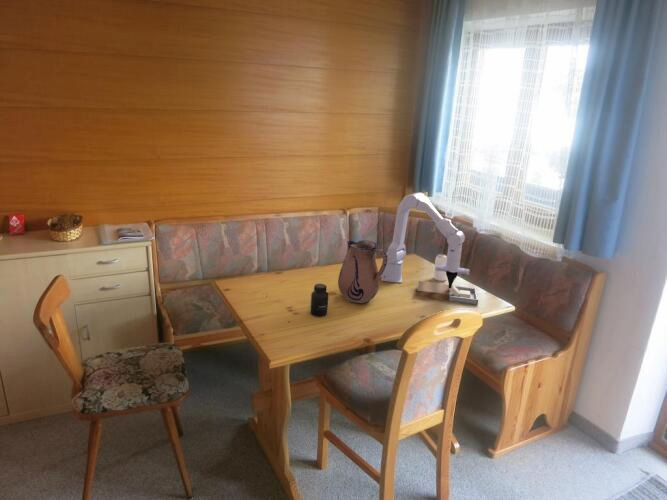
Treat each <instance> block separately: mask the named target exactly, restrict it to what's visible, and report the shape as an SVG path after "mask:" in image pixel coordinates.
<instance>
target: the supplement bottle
mask: <svg viewBox="0 0 667 500" xmlns="http://www.w3.org/2000/svg"><path fill="white" fill-rule="evenodd" d="M310 295H311V296H310V310H309V311H310V315H311V316H313V317H316V318H317V317H318V318H322V317H326V316H327V315H328V311H329V310H328V307H329V293H328V291H327V285H326V284H324V283H315V284H314V287H313V290H312V292H311V294H310Z"/></svg>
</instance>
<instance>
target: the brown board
mask: <svg viewBox="0 0 667 500" xmlns="http://www.w3.org/2000/svg"><path fill="white" fill-rule="evenodd" d="M416 297H417V298H424V299H431V300H432V299H433V300H441V301H448V302H449V297H450V290H449V284H446V283H437V282H429V281H422V280H421V281H420V280H419V281H418V284H417V291H416Z"/></svg>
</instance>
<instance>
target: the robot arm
mask: <svg viewBox="0 0 667 500" xmlns="http://www.w3.org/2000/svg"><path fill="white" fill-rule="evenodd" d="M415 208H416V209H415ZM414 209H415V210H417V211H423V212H425V213H426V214H427V215H428V216H429V217H430V218H431V219H432V220H433V221H434V222H435V223H436V228H437V229H438V231H439V232H441V234H443V236H444V237H445V238H446V242H447V244H448V246H447V247H448V249H447V254H446V255H447V261H446V266H436V267H435V266H434V268H435V271H445V272H446V276H447V281H448V285H449V288H451V286H452V284H453V283H454V282H455V280H456V278H457V276H458V274H463V275H464V274H465V275H467V276H469V275H470V269H469V268H464V267H460V264H461V259H462V258H461V257H462V251H463V243H464V242H465V240H466V234H464V232H463V231H462V230H459V229H458V228H456V227H455V225H454V224H452V220H451V219H448V218H447V217H446V218H444V217H443V216H442V215H441V214H440V212H439V211H438V210H437V209H436V207H435V206H434V205H433V204H432V203H431V201H430V199H429V197H427V196H426V194H424V193H423V192H421V191H420V192H415V193H412V194H410V193H409V194H407V195H406V196H404V197H403V199H402V200H401V201H400V203H399V204H398V206H397V210H396V216H395V223H394V229H393V236H392V241H391V243H390V245H389V246H388V249H387V251H386V254H387V257H388V259H387V265H386V267H385V269H384V272H383V273H382V275H381V278H380V279H381V281H382V282H389V283H395V284H396V283H399V284H402V280H403V276H402V274H403V265H404V264H403V263H404V259H405V258H406V256H407V251H406V244H405V239H406V233H407V232H406V231H407V226H408V220H409V214H410V211H412V210H414Z"/></svg>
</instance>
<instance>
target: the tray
mask: <svg viewBox="0 0 667 500" xmlns="http://www.w3.org/2000/svg"><path fill="white" fill-rule="evenodd" d="M454 286H455V287H456V288H457V289H458V290H459V291H460V290H465V291H470V298H464V297H459V295H458V296H457V297H456V296H455V295H454V294H453V293H452V292H451V291H450V297H449V301H448V302H449V303H455V304H456V303H458V304H464V305H465V304H466V305H473V306H478V304H479V296H478V291H477V288H476V287H468V286H460V285H454Z"/></svg>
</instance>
